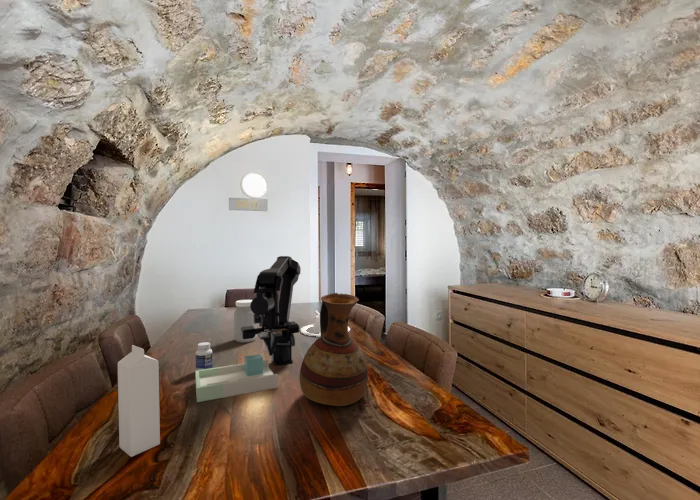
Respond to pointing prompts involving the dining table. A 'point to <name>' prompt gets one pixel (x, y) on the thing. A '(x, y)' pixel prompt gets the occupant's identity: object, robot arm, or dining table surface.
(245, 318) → the jar
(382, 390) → the dining table surface
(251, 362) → the block
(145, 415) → the milk
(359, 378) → the ceramic pitcher
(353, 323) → the dining table surface
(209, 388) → the box
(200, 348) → the pill bottle
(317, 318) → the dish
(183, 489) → the dining table surface
